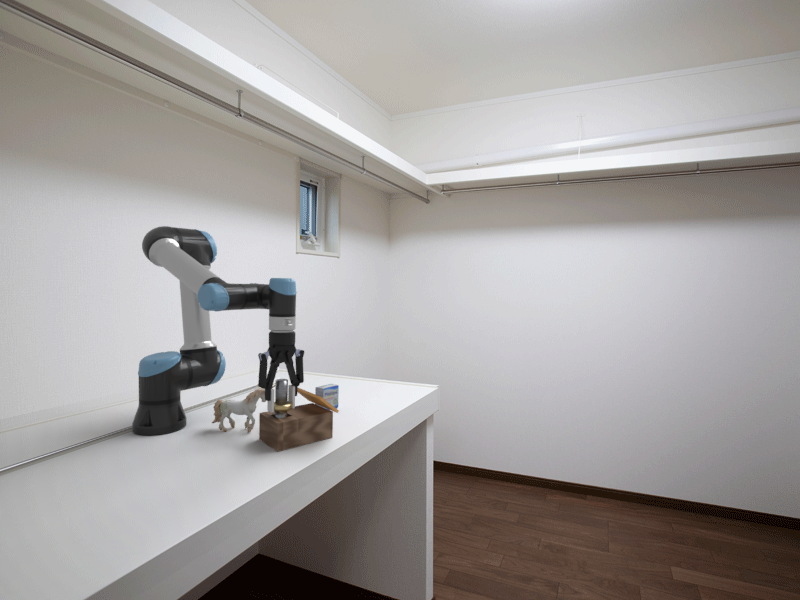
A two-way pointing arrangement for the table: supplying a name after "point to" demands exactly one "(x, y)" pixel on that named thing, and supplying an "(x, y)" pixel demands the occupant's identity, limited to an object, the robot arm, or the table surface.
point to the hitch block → (296, 427)
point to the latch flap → (316, 399)
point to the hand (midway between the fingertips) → (281, 409)
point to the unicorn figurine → (238, 409)
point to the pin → (281, 399)
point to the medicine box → (328, 394)
